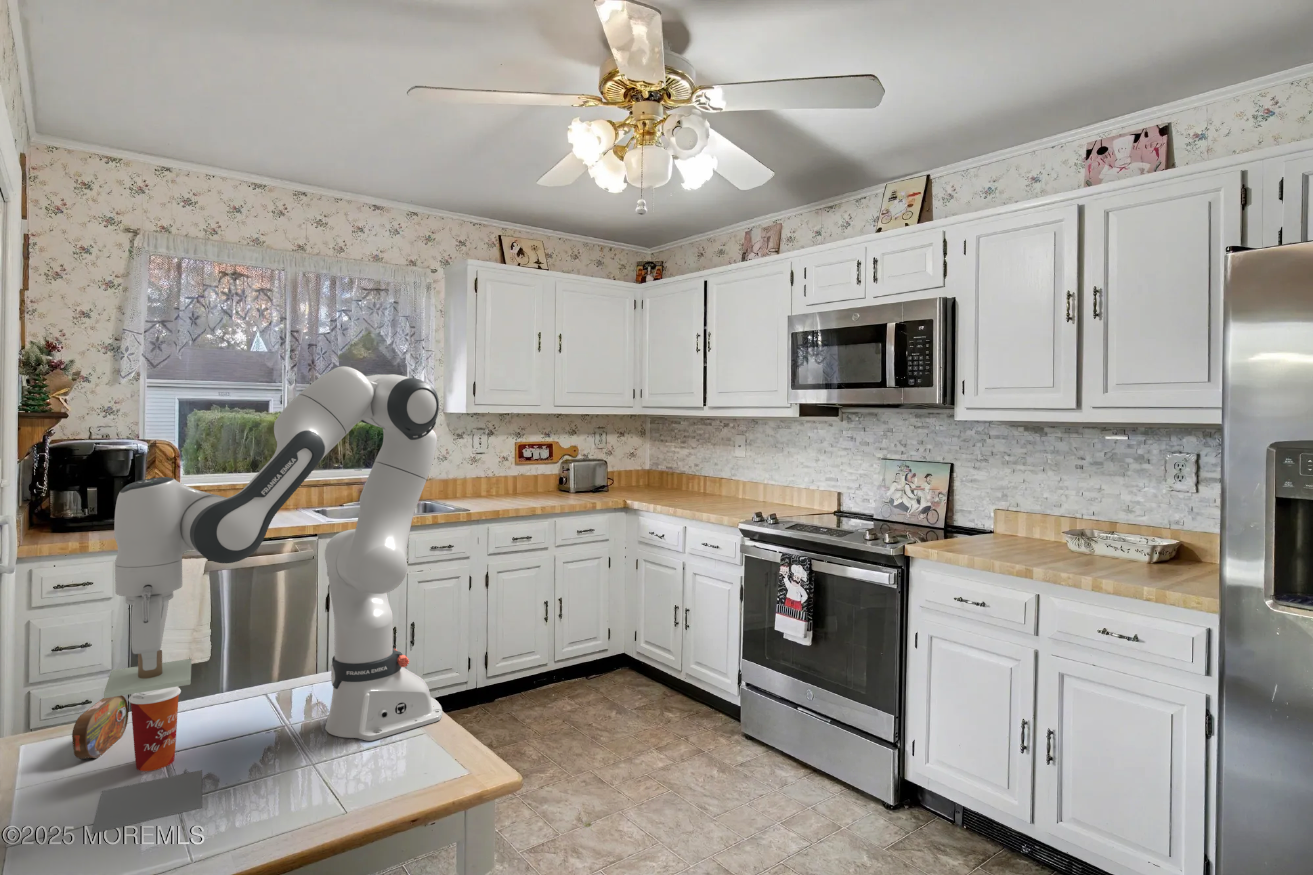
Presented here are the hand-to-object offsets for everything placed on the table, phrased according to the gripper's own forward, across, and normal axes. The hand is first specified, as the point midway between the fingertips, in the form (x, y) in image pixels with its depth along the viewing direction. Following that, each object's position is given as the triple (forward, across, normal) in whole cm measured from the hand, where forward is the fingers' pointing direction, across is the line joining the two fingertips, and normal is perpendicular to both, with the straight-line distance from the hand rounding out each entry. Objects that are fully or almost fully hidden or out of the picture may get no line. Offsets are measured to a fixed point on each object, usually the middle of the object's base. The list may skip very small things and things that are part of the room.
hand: (150, 664), depth 116 cm
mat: (+23, 0, 0) cm, 23 cm away
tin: (+23, +27, +9) cm, 37 cm away
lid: (+2, 0, 0) cm, 3 cm away
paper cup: (+23, +14, 0) cm, 27 cm away
